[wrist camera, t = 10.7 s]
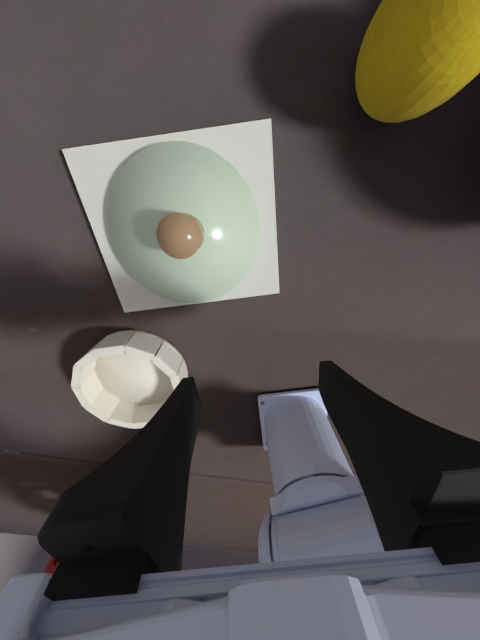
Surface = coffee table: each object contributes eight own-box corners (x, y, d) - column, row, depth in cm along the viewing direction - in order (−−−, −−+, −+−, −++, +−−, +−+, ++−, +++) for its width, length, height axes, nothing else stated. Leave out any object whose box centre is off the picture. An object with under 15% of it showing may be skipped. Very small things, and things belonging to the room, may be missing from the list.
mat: (278, 290, 20) (279, 292, 20) (127, 309, 21) (124, 312, 20) (269, 121, 15) (270, 118, 14) (67, 151, 15) (61, 149, 15)
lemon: (316, 110, 15) (395, 15, 8) (372, -2, 13) (553, -280, 6) (379, 156, 16) (498, 111, 9) (439, 60, 14) (660, -101, 7)
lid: (258, 298, 20) (263, 312, 17) (131, 303, 20) (114, 318, 17) (259, 141, 15) (266, 124, 12) (91, 145, 15) (57, 128, 12)
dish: (196, 400, 26) (192, 422, 23) (112, 410, 26) (98, 433, 23) (175, 323, 21) (166, 340, 19) (73, 336, 22) (51, 354, 19)
